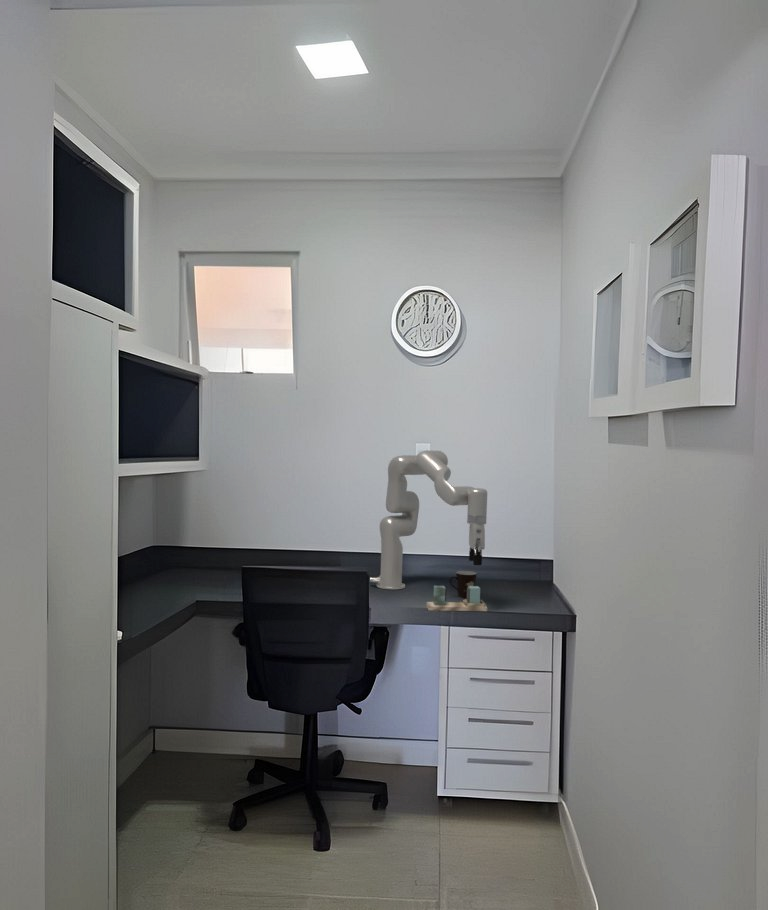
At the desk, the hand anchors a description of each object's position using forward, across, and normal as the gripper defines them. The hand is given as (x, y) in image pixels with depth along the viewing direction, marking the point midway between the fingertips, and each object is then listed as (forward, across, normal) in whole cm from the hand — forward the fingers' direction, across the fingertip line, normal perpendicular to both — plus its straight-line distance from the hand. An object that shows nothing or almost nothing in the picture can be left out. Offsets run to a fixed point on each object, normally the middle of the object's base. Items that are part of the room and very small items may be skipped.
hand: (475, 562), depth 318 cm
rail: (+18, 0, +7) cm, 19 cm away
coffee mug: (+18, +23, +1) cm, 29 cm away
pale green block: (+17, 0, 0) cm, 17 cm away
